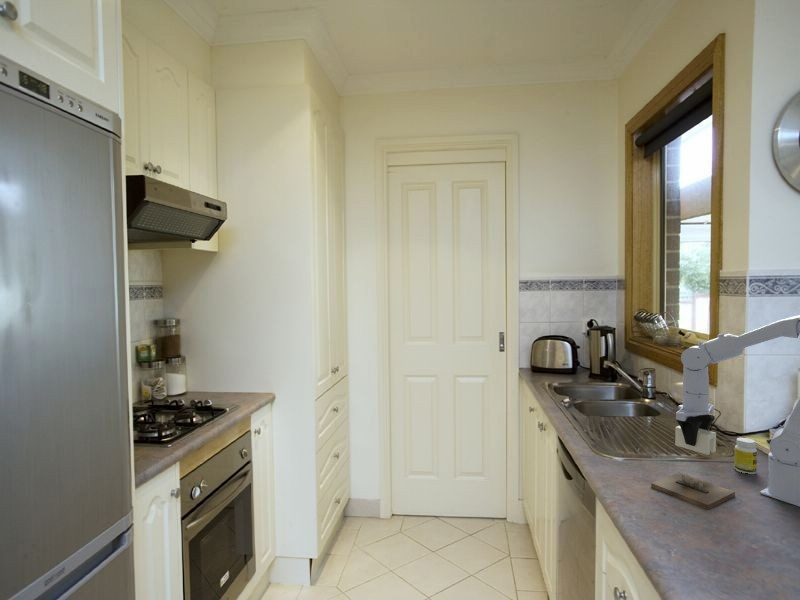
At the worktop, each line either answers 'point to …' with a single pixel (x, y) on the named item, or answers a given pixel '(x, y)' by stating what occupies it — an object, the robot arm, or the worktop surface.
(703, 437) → the block
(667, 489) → the pin board
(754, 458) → the supplement bottle
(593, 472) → the worktop surface
